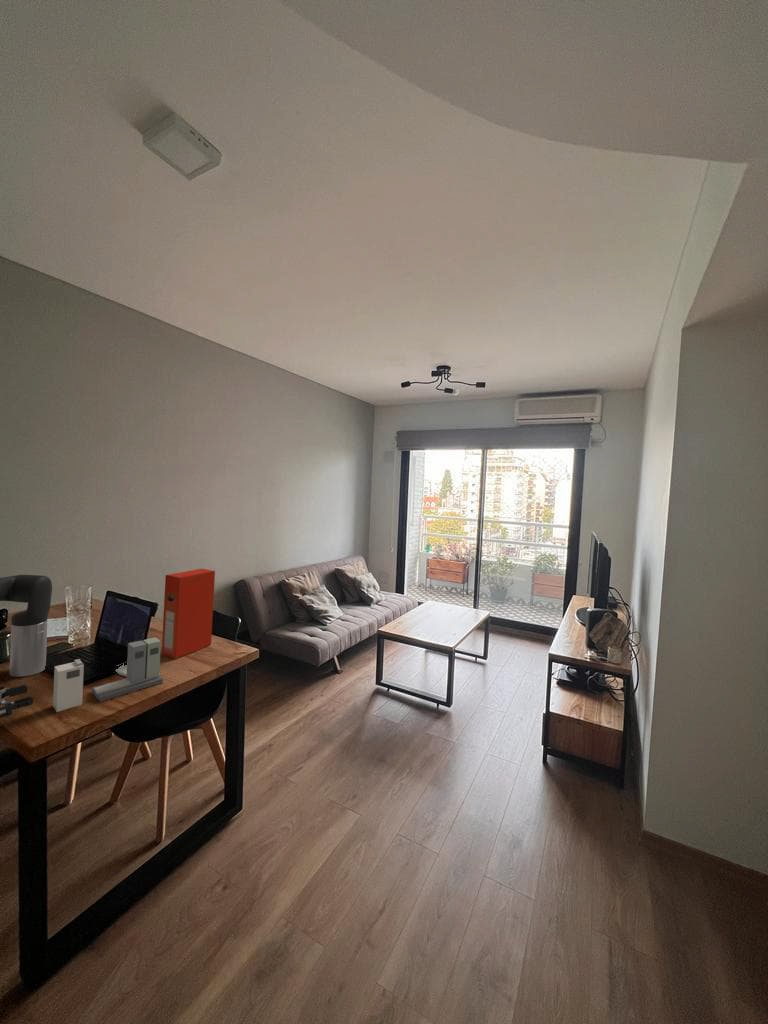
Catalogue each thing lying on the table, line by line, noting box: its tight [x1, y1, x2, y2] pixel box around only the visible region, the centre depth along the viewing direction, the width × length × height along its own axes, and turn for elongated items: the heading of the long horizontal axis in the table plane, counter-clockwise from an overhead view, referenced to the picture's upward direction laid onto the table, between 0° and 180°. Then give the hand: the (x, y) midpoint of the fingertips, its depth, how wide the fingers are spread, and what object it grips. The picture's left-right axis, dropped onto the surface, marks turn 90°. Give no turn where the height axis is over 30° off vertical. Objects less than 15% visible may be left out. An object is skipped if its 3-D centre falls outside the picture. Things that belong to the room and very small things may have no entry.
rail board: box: [91, 637, 164, 703], centre depth 130 cm, size 8×18×14 cm, turn 141°
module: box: [52, 658, 85, 713], centre depth 118 cm, size 5×6×13 cm
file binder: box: [161, 568, 216, 660], centre depth 162 cm, size 8×17×32 cm, turn 157°
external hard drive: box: [115, 662, 127, 678], centre depth 142 cm, size 2×8×12 cm
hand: (29, 694), depth 111 cm, fingers open, 8 cm apart
